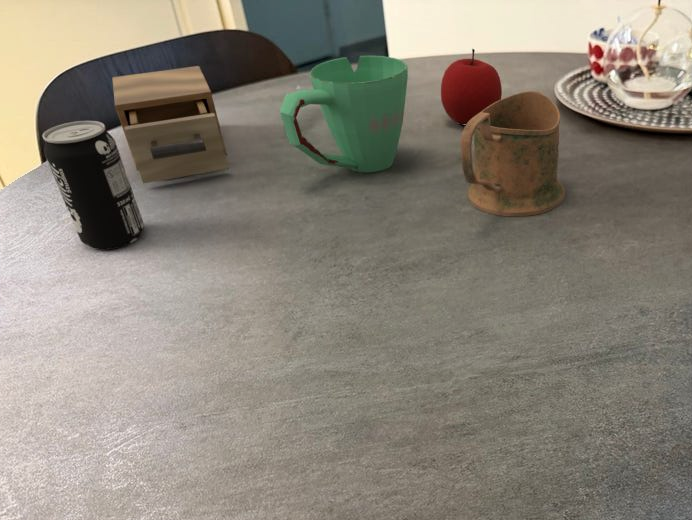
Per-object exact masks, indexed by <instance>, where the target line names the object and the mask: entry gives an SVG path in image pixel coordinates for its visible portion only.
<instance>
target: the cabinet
mask: <svg viewBox="0 0 692 520" xmlns="http://www.w3.org/2000/svg"><path fill="white" fill-rule="evenodd" d="M111 78H112V90H113V100H114V107H115V110H116V113H117V116H118V119H119V122H120V124H121V127H122V128H121V129H122V131H123V133H124V136H125V140H126V142H127V145H128V148H129V152H130V154H131V157H132V160H133V163H134V165H135V169H136V172H139V171H138V168H137V165H136V162H135V159H134V156H133V153H132V150H131V147H130V144H129V141H128V138H127V135H126V132H125V129H124V127H125V126H131V123H130V116H129V110H131V109H138V108H145V107H151V106H158V105H165V104H172V103H179V102H185V101H192V100H199V99H202V101H203V103H204V106H205V108H206V111H207V113H208V114H210V113H214V114H215V117H216V121H217V124H218V128H219V132H220V136H221V140H222V144H223V148H224V152H225V156H228V153H227V148H226V146H225V145H226V144H225V142H224V137H223V134H222V129H221V126H220V122H219V118H218V114H217V111H216V110H217V109H216V106H215V102H214V98H213V94H212V91H211V89H210V87H209V85H208V82H207V80H206V78H205V75H204V74H203V72H202V70H201V67H200V66H199V65H196V66H195V65H194V66H189V67H180V68H173V69H172V68H171V69H166V70H165V69H164V70H158V71H157V70H156V71H150V72H143V73H135V74H127V75H119V76H113V77H111Z"/></svg>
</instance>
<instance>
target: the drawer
mask: <svg viewBox="0 0 692 520" xmlns="http://www.w3.org/2000/svg"><path fill="white" fill-rule="evenodd" d="M129 116H130V123H131V126H125V127H124V129H125V132H126V135H127V138H128V141H129V144H130V147H131V150H132V153H133V156H134V159H135V162H136V165H137V168H138V171H137V172H138V174H139V177H140V179H141V183H142V184H149V183H155V182H161V181H167V180H172V179H178V178H183V177H189V176H194V175H195V176H196V175H200V174H206V173H213V172H217V171H222V170H227V169H229V164H228V160H227V157H226V156H225V152H224V148H223V144H222V140H221V136H220V132H219V128H218V124H217V121H216V117H215V114H214V113H210V114H208V113H207V111H206V108H205V106H204V103H203V101H202V99H199V100H192V101H185V102H179V103H172V104H165V105H158V106H151V107H145V108H138V109H131V110H129Z"/></svg>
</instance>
